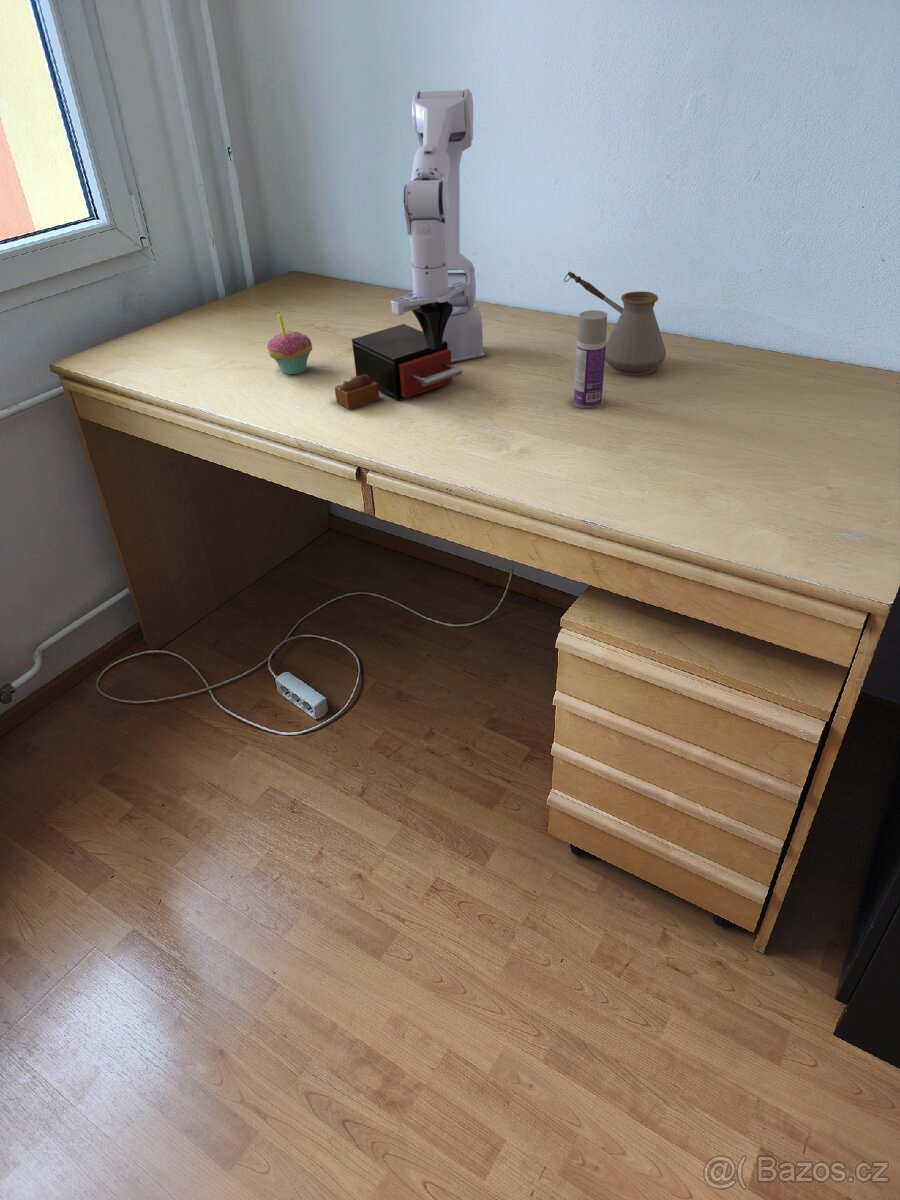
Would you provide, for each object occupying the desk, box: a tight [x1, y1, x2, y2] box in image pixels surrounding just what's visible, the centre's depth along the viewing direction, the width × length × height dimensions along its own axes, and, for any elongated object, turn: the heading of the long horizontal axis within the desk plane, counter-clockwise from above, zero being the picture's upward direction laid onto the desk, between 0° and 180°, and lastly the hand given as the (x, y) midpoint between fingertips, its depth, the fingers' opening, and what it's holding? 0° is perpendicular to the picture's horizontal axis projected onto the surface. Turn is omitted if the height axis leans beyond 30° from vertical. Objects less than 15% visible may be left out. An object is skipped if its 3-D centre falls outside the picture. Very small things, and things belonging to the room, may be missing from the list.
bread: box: [334, 375, 380, 411], centre depth 140 cm, size 6×4×4 cm, turn 128°
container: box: [573, 309, 608, 410], centre depth 132 cm, size 5×5×15 cm
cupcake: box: [267, 310, 313, 375], centre depth 151 cm, size 9×8×12 cm
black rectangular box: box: [351, 323, 448, 401], centre depth 146 cm, size 14×12×8 cm
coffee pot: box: [563, 271, 667, 376], centre depth 146 cm, size 21×12×15 cm, turn 49°
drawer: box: [398, 349, 463, 399], centre depth 143 cm, size 17×10×6 cm, turn 37°
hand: (434, 347), depth 135 cm, fingers closed
